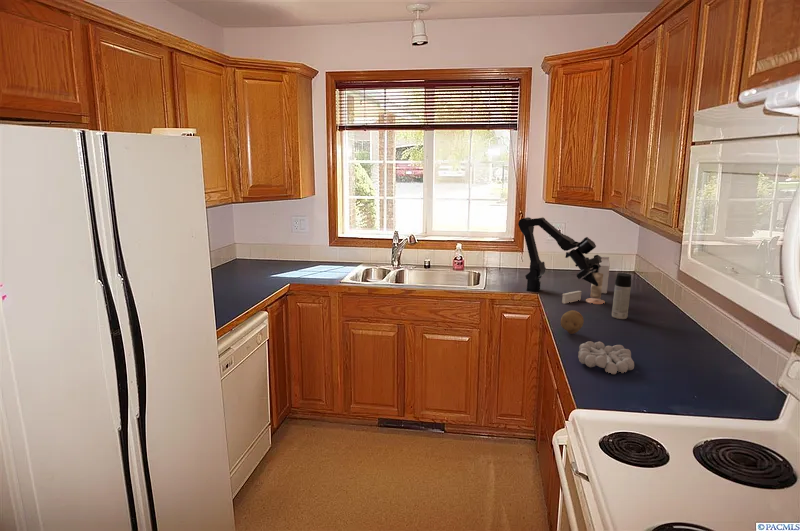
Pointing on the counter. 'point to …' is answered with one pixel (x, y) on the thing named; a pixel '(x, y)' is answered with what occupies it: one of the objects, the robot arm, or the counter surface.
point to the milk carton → (604, 272)
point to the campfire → (606, 357)
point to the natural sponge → (572, 321)
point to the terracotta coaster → (595, 301)
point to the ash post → (597, 289)
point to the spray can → (621, 296)
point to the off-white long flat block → (571, 296)
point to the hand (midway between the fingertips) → (599, 284)
